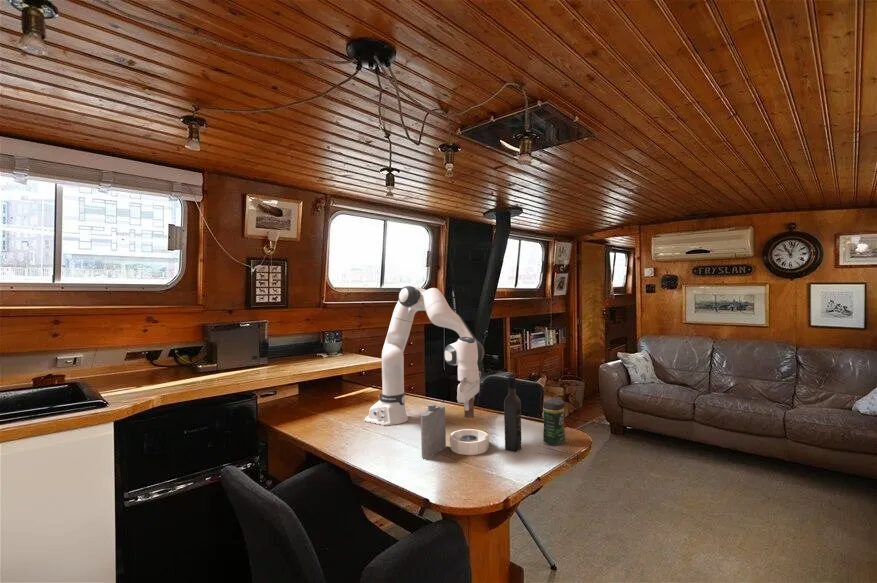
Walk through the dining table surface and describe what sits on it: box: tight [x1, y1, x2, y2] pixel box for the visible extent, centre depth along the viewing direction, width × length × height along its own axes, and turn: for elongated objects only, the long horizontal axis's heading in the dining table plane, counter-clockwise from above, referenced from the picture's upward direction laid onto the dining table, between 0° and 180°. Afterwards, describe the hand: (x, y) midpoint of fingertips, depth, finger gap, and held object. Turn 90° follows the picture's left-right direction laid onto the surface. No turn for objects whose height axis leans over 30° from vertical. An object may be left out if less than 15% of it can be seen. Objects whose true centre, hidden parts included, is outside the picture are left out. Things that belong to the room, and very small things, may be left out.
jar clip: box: [460, 435, 478, 442], centre depth 178 cm, size 7×7×3 cm
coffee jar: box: [542, 397, 566, 446], centre depth 182 cm, size 10×8×19 cm
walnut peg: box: [463, 397, 475, 419], centre depth 178 cm, size 4×4×8 cm
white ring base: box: [449, 428, 490, 456], centre depth 178 cm, size 16×16×5 cm
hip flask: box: [420, 403, 447, 460], centre depth 174 cm, size 16×4×20 cm, turn 148°
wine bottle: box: [503, 376, 522, 453], centre depth 175 cm, size 6×6×30 cm
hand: (469, 408), depth 178 cm, fingers closed on walnut peg, 4 cm apart
